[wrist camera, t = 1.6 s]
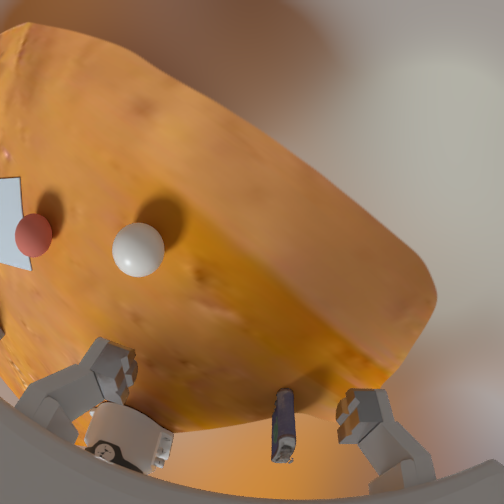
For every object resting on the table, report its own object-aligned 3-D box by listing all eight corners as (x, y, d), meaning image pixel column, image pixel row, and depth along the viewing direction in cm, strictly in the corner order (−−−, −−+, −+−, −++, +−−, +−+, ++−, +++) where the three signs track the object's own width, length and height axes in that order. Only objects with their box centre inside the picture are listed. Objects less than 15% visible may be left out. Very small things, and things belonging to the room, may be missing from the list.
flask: (277, 386, 37) (279, 448, 27) (297, 387, 37) (303, 448, 27) (270, 419, 41) (270, 473, 31) (287, 420, 41) (289, 473, 31)
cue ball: (171, 266, 30) (154, 290, 25) (127, 260, 30) (106, 282, 25) (171, 218, 28) (152, 235, 23) (125, 214, 28) (100, 230, 23)
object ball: (62, 250, 30) (37, 267, 25) (36, 245, 30) (11, 261, 25) (57, 209, 28) (29, 222, 23) (31, 207, 28) (4, 219, 23)
